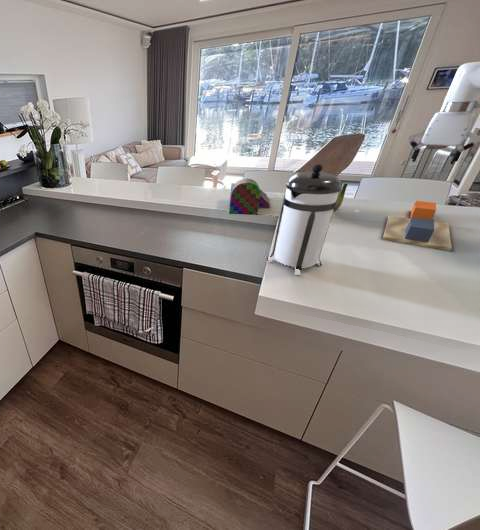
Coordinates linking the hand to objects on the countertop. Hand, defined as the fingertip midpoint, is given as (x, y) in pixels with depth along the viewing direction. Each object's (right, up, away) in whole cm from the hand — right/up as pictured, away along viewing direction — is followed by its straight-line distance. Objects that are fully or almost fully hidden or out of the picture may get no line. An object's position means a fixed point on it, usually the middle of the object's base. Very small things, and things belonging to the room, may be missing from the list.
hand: (432, 162), depth 102 cm
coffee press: (-56, -36, -12) cm, 68 cm away
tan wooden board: (-8, -25, -2) cm, 27 cm away
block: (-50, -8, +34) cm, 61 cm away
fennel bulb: (-21, -13, +21) cm, 32 cm away
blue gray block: (-12, -28, -6) cm, 31 cm away
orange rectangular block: (+4, -18, +8) cm, 20 cm away
